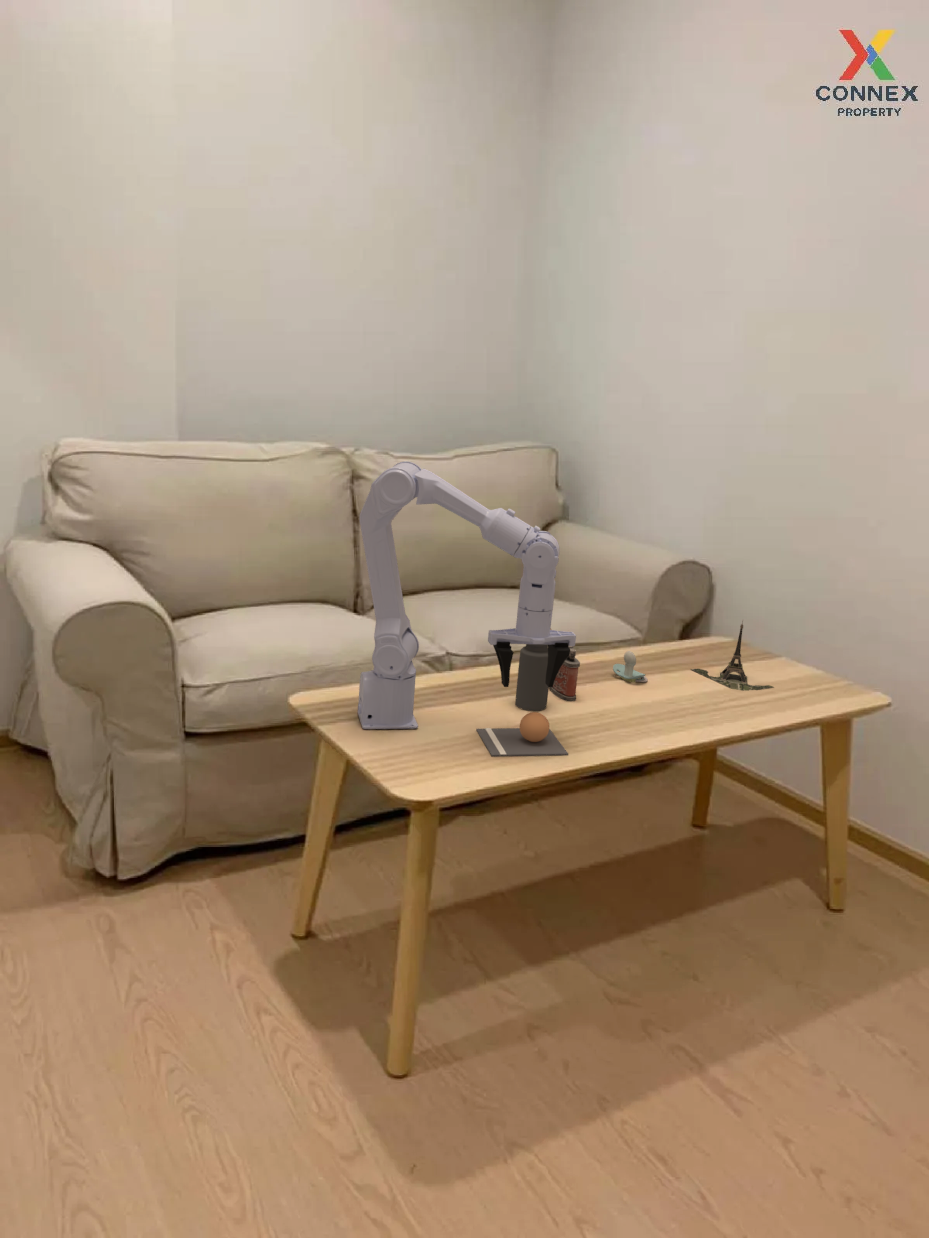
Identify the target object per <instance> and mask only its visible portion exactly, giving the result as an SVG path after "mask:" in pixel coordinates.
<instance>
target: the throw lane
mask: <svg viewBox="0 0 929 1238" xmlns="http://www.w3.org/2000/svg"><path fill="white" fill-rule="evenodd" d="M475 731H476V732H477V734H478V736H479V737H480V739H481V741H482V743H483V744H484V746H485V748H486V750H487V751H488V753H489V755H490V756H491V757H537V756H538V757H542V756H543V757H544V756H545V757H546V756H548V757H549V756H551V757H552V756H569V752H568V751H567V749H566V748H565V747H564V746H563V744H562V742H560V740H559V739H558V738H557V736H556V735H555V734H554V732H553V731H552V730H551V728H549V732H548V734H547V736H546V737H545V738H544V739H543V740H541V741H539V742H531V741H528V740H526V739H525V738H524V737H523V736H522V734H521V732H520V727H517V728H516V727H511V728H510V727H504V728H503V727H502V728H501V727H500V728H499V727H498V728H497V727H495V728H491V727H486V728H485V727H484V728H476V730H475Z"/></svg>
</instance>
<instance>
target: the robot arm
mask: <svg viewBox="0 0 929 1238" xmlns="http://www.w3.org/2000/svg"><path fill="white" fill-rule="evenodd" d="M369 489H370V490H369V492H368V494H367V497H366V499H365V501H364V503H363V506H362V508H361V511H360V513H359V525H360V532H361V537H362V543H363V548H364V549H363V550H364V556H365V563H366V567H367V573H368V579H369V586H370V592H371V597H372V604H373V610H374V617H375V627H374V633H373V640H374V649H373V652H372V654H371V655H372V656H371V662H372V665H373V669H372V670H368V671H367V670H366V671H361V673H360V675H359V676H360V677H359V685H358V686H359V687H358V688H359V689H358V690H359V691H358V703H357V704H358V705H357V714H358V715H357V716H358V720H359V721H360V725H361V728H362V729H364V730H376V729H377V730H389V729H390V730H393V729H396V730H398V729H399V730H400V729H403V730H404V729H405V730H406V729H418V728H419V724H418V722H417V720H416V717H415V715H414V708H415V707H414V706H415V705H414V704H415V692H416V690H415V689H416V678H417V676H416V675H417V674H416V673H417V669H416V667H415V666H414V663H413V660H414V658H415V657H417V654H418V652H419V649H420V642H419V638H418V637H417V635H416V634H415V633H414V631H413V630H412V626H411V622H410V618H409V617H408V616H407V613H406V611H405V610H406V609H405V603H404V595H403V591H402V585H401V577H400V571H399V566H398V559H397V558H398V557H397V552H396V547H395V540H394V539H395V538H394V533H393V527H392V522H393V520H394V519H396V517H397V516H398V514H399V513H400V512H401V510H402V509H403V508H404V507H406V506H407V505H408V504H410V503H411V502H412V501H413V500H415V499H416V501H415V505H418V506H420V505H432V504H433V505H435V504H436V505H438V506H440V507H442V508H444V509H445V510H448V511H449V512H451V513H452V514H455V515H456V516H458V517H460V518H462V519H464V520H466V521H467V522H469V523H471V524H473V525H475V526H477V527H479V530H480V534H481V537H482V539H483V540H485V541H487V542H489V543H490V544H492V545H494V546H495V547H497V548H499V549H500V550H502V551H504V552H505V553H506V554H508V555H510V556H511V557H514V558H515V559H520V560H521V563H522V564H523V565H522V566H523V569H522V576H521V578H520V582H519V595H518V603H517V612H516V621H515V622H516V623H515V628H506V629H505V628H504V629H493V630H492V629H489V630H488V636H487V643H488V644H490V646H493V649H494V652H495V654H496V657H497V660H498V661H497V662H498V664H499V669H500V676H501V677H500V678H501V685H502V686H503V687H504V688H509V686H510V680H511V679H510V676H511V665H512V660H513V656H514V653H515V652H514V651H513V650H512V646H511V645H526V644H548V664H547V671H546V681H545V683H546V684H547V686H548V687H553V684H554V681H555V678H556V676H557V674H558V671H559V669H560V668H561V666H562V664H563V663H564V661H565V660H566V658H567V657H568V656H569V654H570V648H569V647H568V646H573V647H575V646H576V639H577V635H576V634H575V632H574V631H563V630H557V629H555V630H554V629H552V619H553V618H552V617H553V610H554V603H555V602H554V601H555V593H556V579H555V578H556V577H557V570H556V569H557V568H556V567H557V565H558V564H559V560H560V559H559V556H560V552H561V551H560V548H561V547H560V545H559V542H558V540H557V539H556V538H555V536H554V535H552V534H551V533H550V531H545V530H541V527H540V526H537V525H535V526H534V527H533V526H532V525H530V524H529V523H527V522H525V521H523V520H522V519H520V518H519V517H517V516H515V514H516V511H515V510H513V509H511V508H509V507H508V509H507V510H506V509H504V508H503V507H498V508H494V509H489V508H487V507H486V506H484V505H483V504H481V503H480V502H478V501H477V500H475V499H474V498H473V497H471V496H469V495H468V494H466V493H465V492H463V491H462V490H461V489H459V488H457V487H456V486H454V485H453V484H451V483H450V482H448V481H447V480H445V479H444V478H442V477H440V476H439V475H438V474H436V473H434V472H433V471H431V470H429V469H426V468H421V466H420V465H418V464H416V463H415V462H412V461H409V460H408V461H400V462H397V463H395V464H394V465H393V466H392V467H389V468H387V469H386V470H384V471H383V472H381V473H380V474H379V475H378V477H377V478H376V479H374V480H373V482H372V483H371V484H370V488H369ZM550 629H551V630H550Z"/></svg>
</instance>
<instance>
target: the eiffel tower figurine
mask: <svg viewBox="0 0 929 1238" xmlns="http://www.w3.org/2000/svg"><path fill="white" fill-rule="evenodd" d="M743 622H744V620H742V623H741V624H740V629H739V634H738V638H737V643H736V648H735V650H734V653H733V657H732V658H731V660H730V662H728V665H727V666H726V667H725V668H724V669H723V670H722V671H720V672H719V676H713V675H709V671H708V670H705V669H701V668H691V669H690V670H691V671H692V672H693V671H694V672H696V673H697V674H700V675H701V676H703V677H705V678H708V679H710V680H713V681H714V682H717V683H719V684H721V685H723V686H724V687H726V688H729V689H730V690H731V689H732V690H738V691H742V692H743V691H745V692H746V691H760V690H761V691H762V690H766V689H769V688H774V686H772V685H770V684H766V685H761V684H760V685H757V684H755V685H753V684H752V685H751V684H748V676H747V675H746V674H745V671H744V669H743V663H742V661H741V659H742V653H741V650H742V649H741V647H742V637H743V629H744V624H743ZM736 660H737V661H738V662H737V663H736ZM735 673H736V674H735Z"/></svg>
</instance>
